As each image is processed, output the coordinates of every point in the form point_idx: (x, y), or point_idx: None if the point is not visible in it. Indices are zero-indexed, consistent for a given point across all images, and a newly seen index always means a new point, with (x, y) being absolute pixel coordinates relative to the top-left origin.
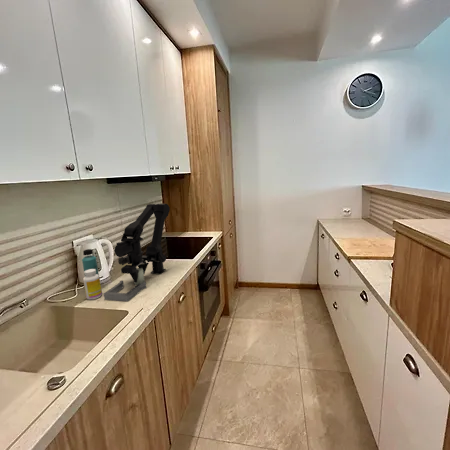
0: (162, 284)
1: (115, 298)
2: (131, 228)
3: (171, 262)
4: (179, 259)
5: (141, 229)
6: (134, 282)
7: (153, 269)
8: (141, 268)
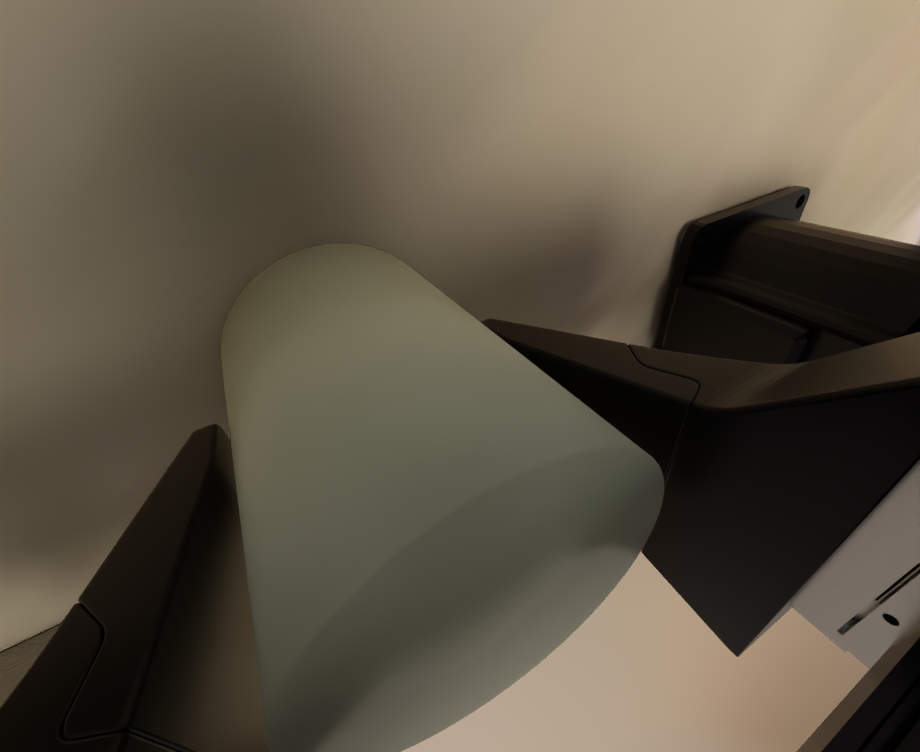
0: None
1: None
2: None
3: (891, 220)
4: (913, 244)
5: None
6: (224, 364)
7: (727, 324)
8: (613, 575)
